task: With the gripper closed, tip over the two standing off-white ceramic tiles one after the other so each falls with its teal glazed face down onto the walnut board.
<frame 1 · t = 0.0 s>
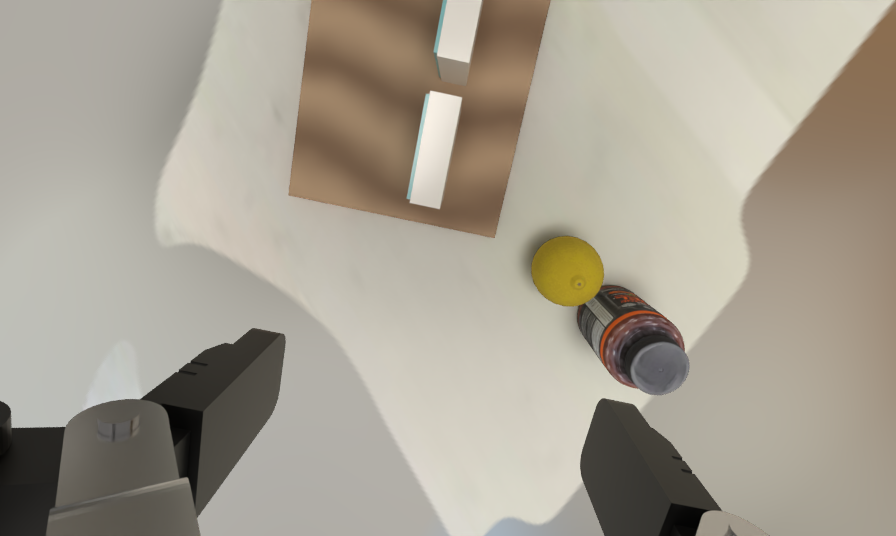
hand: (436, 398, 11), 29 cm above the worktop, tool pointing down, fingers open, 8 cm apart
board: (415, 97, 37), on the worktop
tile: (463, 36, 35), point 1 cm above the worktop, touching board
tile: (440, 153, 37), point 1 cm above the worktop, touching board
lemon: (555, 259, 40), on the worktop
supplement bottle: (606, 313, 42), on the worktop
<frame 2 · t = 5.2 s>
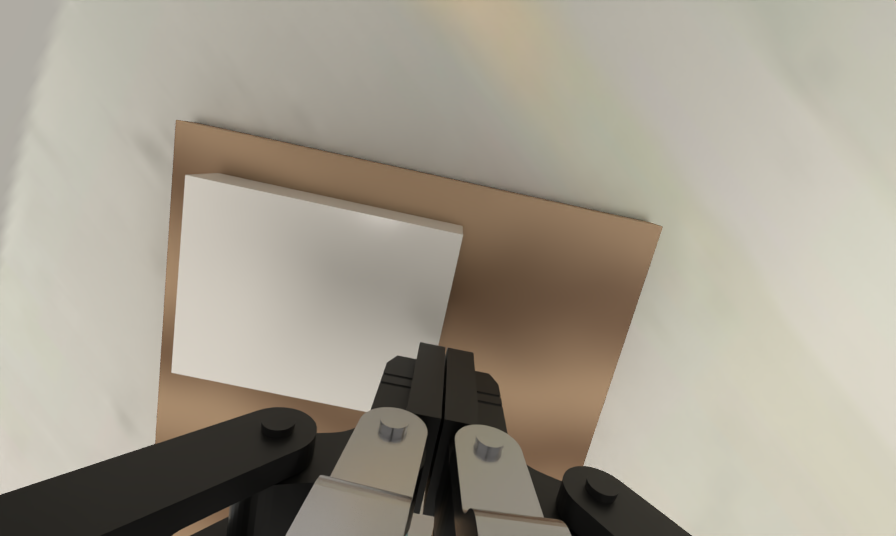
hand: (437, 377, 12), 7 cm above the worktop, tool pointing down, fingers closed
board: (380, 399, 20), on the worktop
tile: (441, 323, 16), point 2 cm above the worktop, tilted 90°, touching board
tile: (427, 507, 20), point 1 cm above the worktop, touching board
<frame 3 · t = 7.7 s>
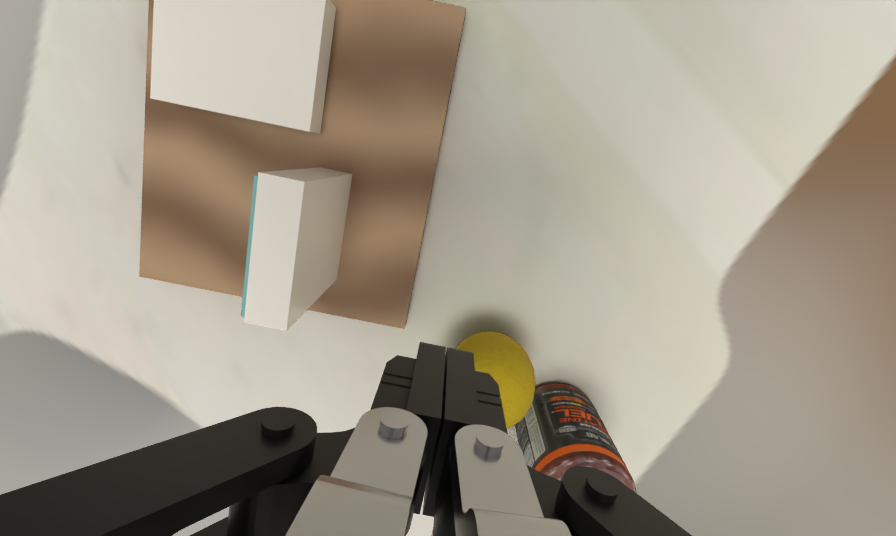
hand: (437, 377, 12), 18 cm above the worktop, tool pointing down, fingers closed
board: (296, 152, 29), on the worktop
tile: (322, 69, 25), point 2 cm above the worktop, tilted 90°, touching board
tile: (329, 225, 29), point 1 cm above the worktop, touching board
lemon: (486, 350, 32), on the worktop
supplement bottle: (552, 414, 33), on the worktop
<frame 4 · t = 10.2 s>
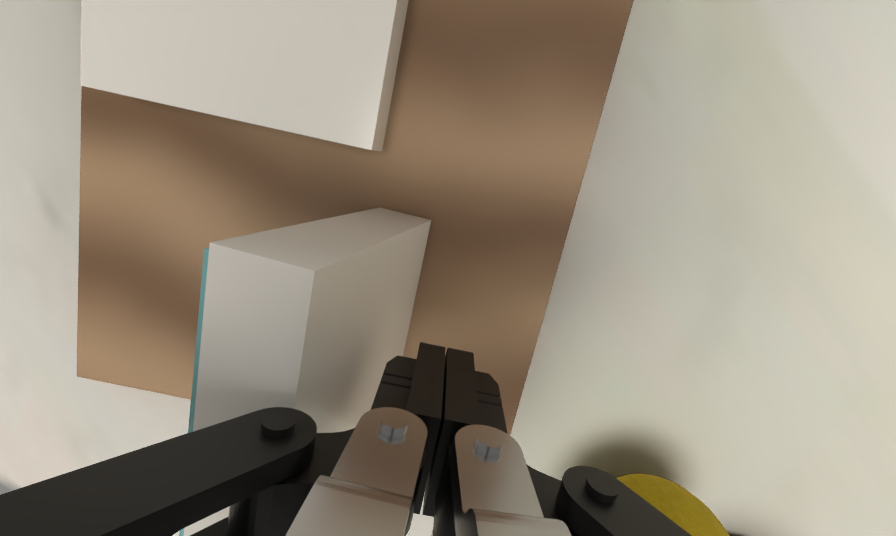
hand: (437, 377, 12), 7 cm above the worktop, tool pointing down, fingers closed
board: (336, 180, 17), on the worktop
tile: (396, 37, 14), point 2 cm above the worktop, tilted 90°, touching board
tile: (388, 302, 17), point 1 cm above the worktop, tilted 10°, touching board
lemon: (619, 485, 21), on the worktop
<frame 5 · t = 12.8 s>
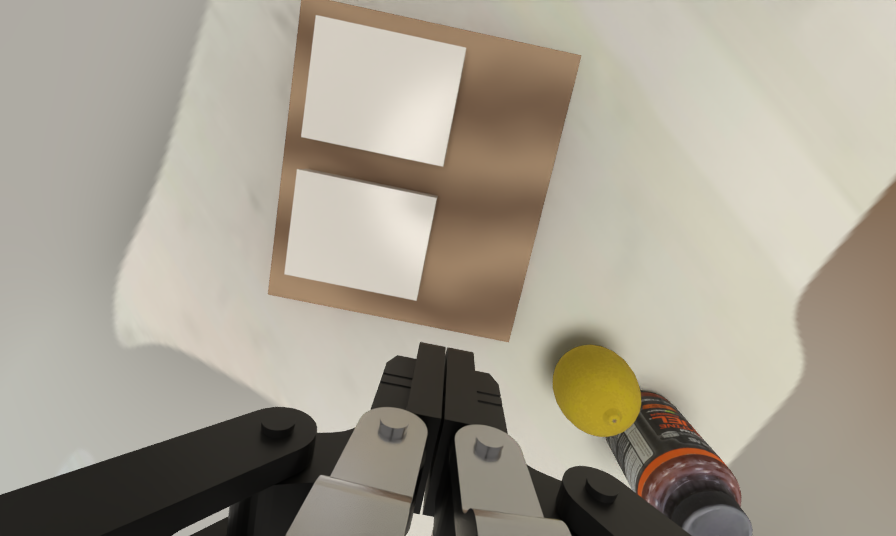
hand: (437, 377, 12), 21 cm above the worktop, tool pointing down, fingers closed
board: (415, 182, 32), on the worktop
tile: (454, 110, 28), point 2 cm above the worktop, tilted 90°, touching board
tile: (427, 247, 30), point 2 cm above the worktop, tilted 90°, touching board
lemon: (578, 361, 35), on the worktop
supplement bottle: (637, 420, 36), on the worktop
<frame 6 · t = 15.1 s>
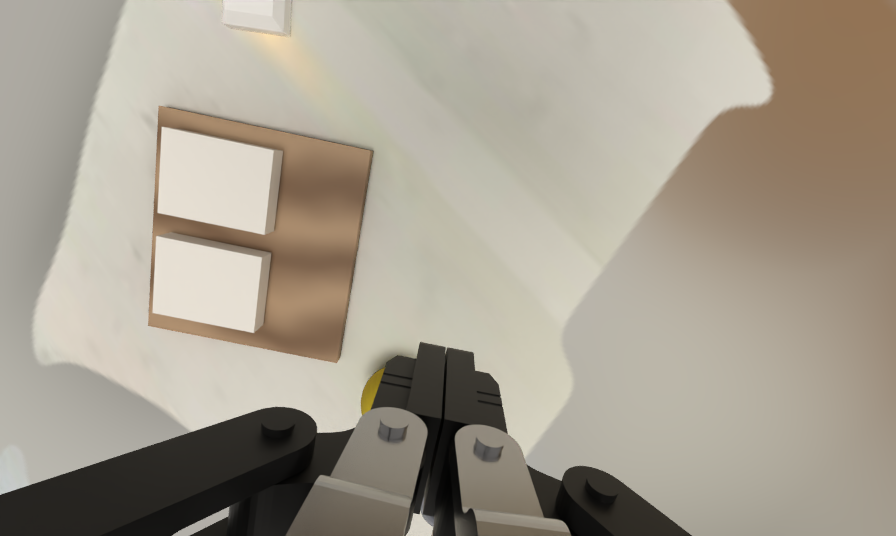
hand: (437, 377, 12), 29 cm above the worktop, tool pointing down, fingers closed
board: (259, 240, 41), on the worktop
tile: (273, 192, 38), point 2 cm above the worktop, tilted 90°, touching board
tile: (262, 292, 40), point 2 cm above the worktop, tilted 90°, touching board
lemon: (398, 377, 44), on the worktop
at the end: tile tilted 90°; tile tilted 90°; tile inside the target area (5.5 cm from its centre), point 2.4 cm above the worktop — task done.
